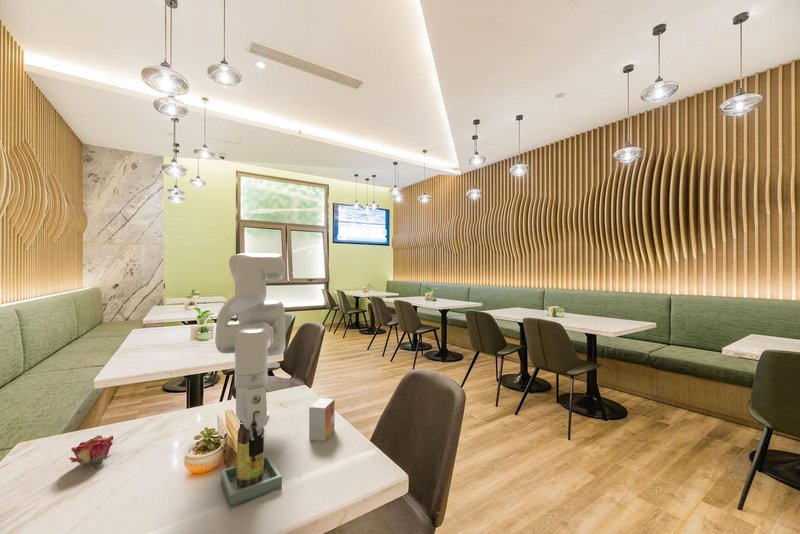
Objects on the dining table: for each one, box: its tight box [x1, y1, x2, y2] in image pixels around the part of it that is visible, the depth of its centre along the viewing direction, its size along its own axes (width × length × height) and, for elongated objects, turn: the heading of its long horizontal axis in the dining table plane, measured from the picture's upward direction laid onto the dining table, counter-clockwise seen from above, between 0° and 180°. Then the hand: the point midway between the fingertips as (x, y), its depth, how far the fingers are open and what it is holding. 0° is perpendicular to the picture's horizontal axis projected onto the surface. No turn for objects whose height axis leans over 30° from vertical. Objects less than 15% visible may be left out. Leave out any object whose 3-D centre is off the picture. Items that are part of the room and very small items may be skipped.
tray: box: [220, 454, 283, 509], centre depth 84 cm, size 12×12×3 cm
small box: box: [308, 397, 335, 442], centre depth 110 cm, size 8×6×10 cm
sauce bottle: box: [236, 423, 265, 487], centre depth 85 cm, size 6×6×20 cm
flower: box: [69, 435, 115, 470], centre depth 92 cm, size 10×9×8 cm
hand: (251, 445), depth 84 cm, fingers open, 9 cm apart
